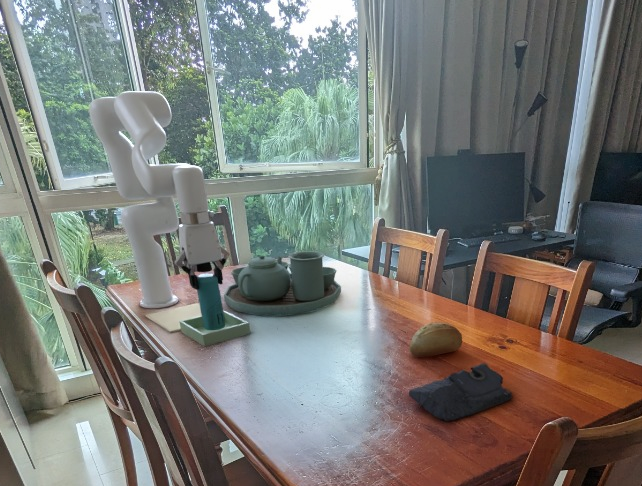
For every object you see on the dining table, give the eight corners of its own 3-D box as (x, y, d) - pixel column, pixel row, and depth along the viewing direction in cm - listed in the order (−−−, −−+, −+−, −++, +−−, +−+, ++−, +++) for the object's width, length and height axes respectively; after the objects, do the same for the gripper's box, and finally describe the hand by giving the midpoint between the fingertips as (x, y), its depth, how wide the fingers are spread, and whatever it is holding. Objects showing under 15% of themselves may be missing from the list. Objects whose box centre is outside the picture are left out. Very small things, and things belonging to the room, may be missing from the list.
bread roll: (470, 354, 133) (473, 325, 129) (420, 365, 128) (422, 335, 124) (450, 342, 141) (453, 314, 136) (402, 351, 136) (403, 322, 131)
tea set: (349, 284, 192) (348, 238, 183) (325, 319, 158) (322, 265, 150) (249, 281, 198) (243, 237, 189) (205, 315, 164) (196, 263, 156)
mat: (145, 316, 165) (145, 315, 164) (203, 303, 175) (202, 301, 175) (171, 333, 151) (170, 331, 151) (231, 317, 162) (230, 315, 162)
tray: (181, 331, 152) (179, 321, 150) (225, 320, 160) (223, 310, 158) (204, 346, 142) (202, 335, 140) (250, 333, 150) (249, 322, 148)
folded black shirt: (398, 397, 114) (398, 378, 111) (470, 373, 124) (472, 354, 121) (443, 426, 102) (445, 406, 100) (519, 397, 113) (522, 377, 110)
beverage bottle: (221, 336, 147) (209, 265, 137) (200, 334, 149) (186, 265, 138) (230, 328, 153) (219, 260, 143) (209, 327, 154) (197, 259, 144)
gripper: (218, 213, 142) (228, 277, 151) (158, 221, 132) (172, 289, 141) (232, 216, 137) (241, 282, 146) (169, 224, 127) (184, 295, 137)
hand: (207, 285), depth 144 cm, fingers closed on beverage bottle, 6 cm apart
